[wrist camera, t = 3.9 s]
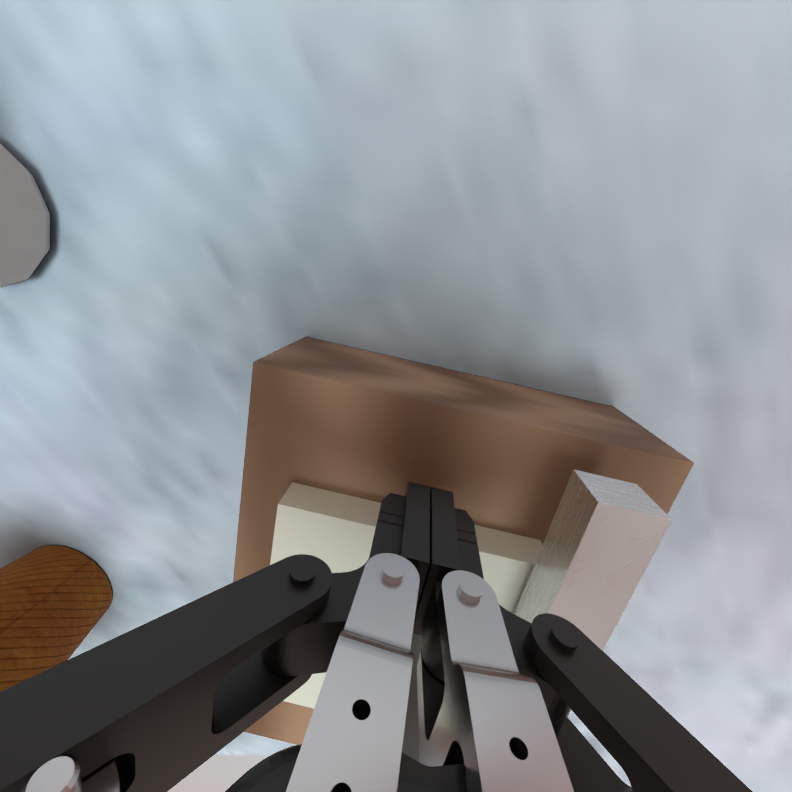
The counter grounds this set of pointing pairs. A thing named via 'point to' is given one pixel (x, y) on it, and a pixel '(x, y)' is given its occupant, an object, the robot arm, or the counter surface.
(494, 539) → the lid
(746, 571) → the counter surface
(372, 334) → the counter surface
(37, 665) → the disposable coffee cup
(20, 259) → the water bottle
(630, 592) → the latch bar
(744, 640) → the counter surface
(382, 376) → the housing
